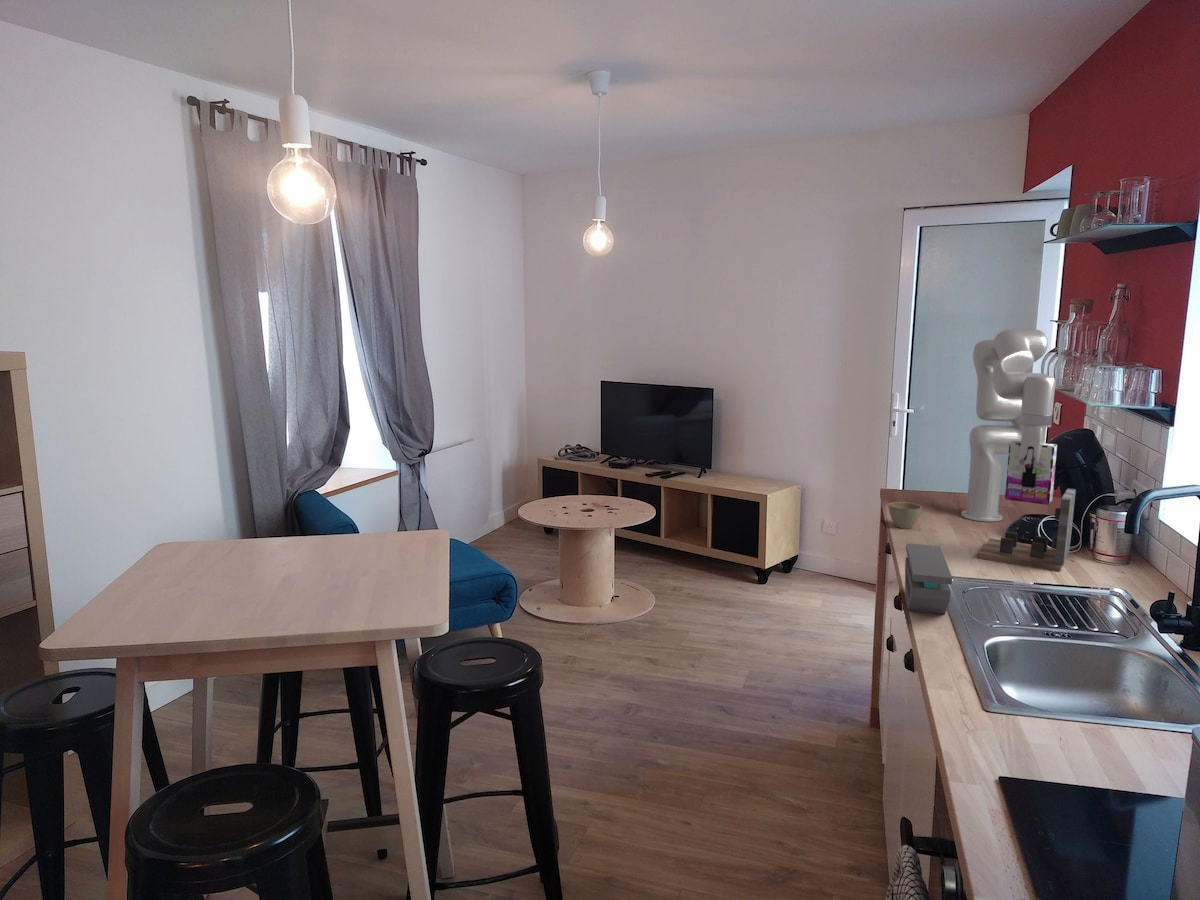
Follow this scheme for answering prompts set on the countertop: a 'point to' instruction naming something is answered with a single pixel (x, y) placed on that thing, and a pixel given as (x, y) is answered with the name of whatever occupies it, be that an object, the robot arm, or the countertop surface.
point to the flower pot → (904, 513)
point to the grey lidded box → (926, 579)
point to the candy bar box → (1043, 475)
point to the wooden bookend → (1036, 543)
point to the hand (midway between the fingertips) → (1029, 484)
